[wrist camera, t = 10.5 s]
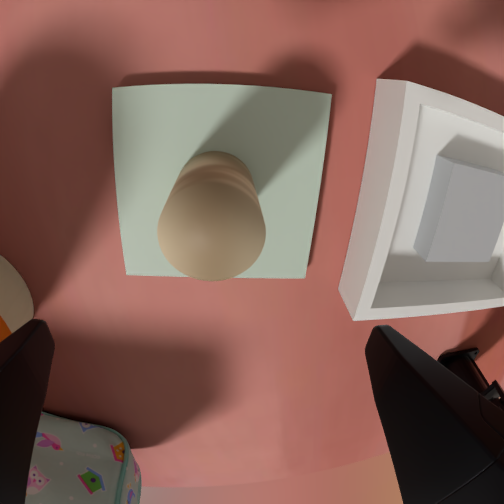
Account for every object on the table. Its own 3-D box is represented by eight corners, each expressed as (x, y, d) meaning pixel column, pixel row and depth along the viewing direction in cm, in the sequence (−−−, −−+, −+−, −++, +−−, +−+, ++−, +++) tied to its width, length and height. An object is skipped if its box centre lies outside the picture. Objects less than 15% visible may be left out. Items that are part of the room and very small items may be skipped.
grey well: (535, 136, 18) (564, 148, 15) (489, 283, 25) (509, 305, 22) (376, 78, 16) (406, 80, 13) (337, 289, 24) (353, 320, 20)
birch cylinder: (257, 153, 17) (272, 186, 12) (249, 225, 19) (259, 283, 14) (177, 149, 17) (156, 180, 12) (176, 222, 19) (159, 278, 14)
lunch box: (-1, 423, 34) (-32, 529, 15) (-32, 384, 29) (-77, 502, 10) (149, 456, 36) (141, 593, 18) (132, 420, 31) (115, 593, 13)
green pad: (327, 93, 17) (331, 94, 16) (302, 272, 22) (304, 278, 22) (116, 87, 15) (112, 87, 15) (129, 268, 21) (126, 275, 21)
